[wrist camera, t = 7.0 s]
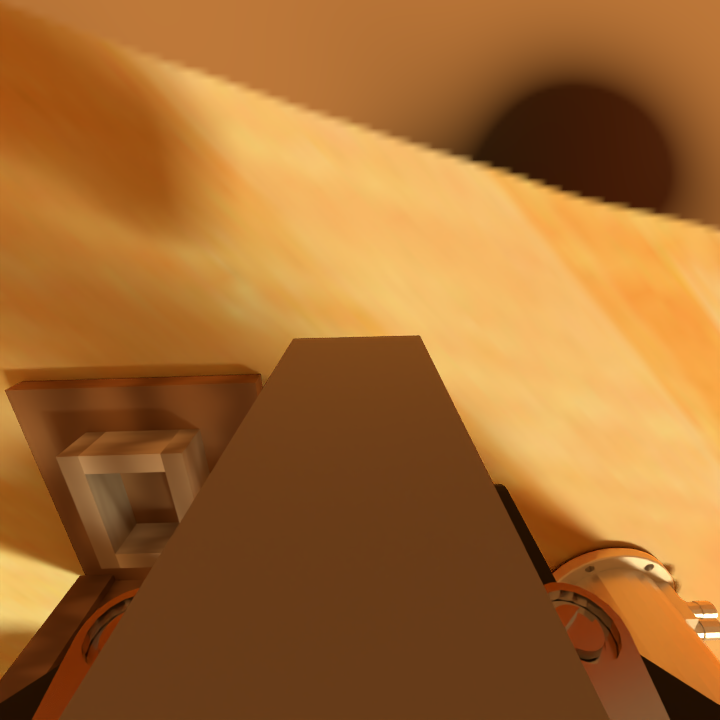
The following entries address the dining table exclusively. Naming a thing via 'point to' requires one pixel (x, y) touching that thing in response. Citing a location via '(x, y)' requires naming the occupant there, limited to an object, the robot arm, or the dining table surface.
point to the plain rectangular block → (343, 568)
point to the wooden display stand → (119, 481)
